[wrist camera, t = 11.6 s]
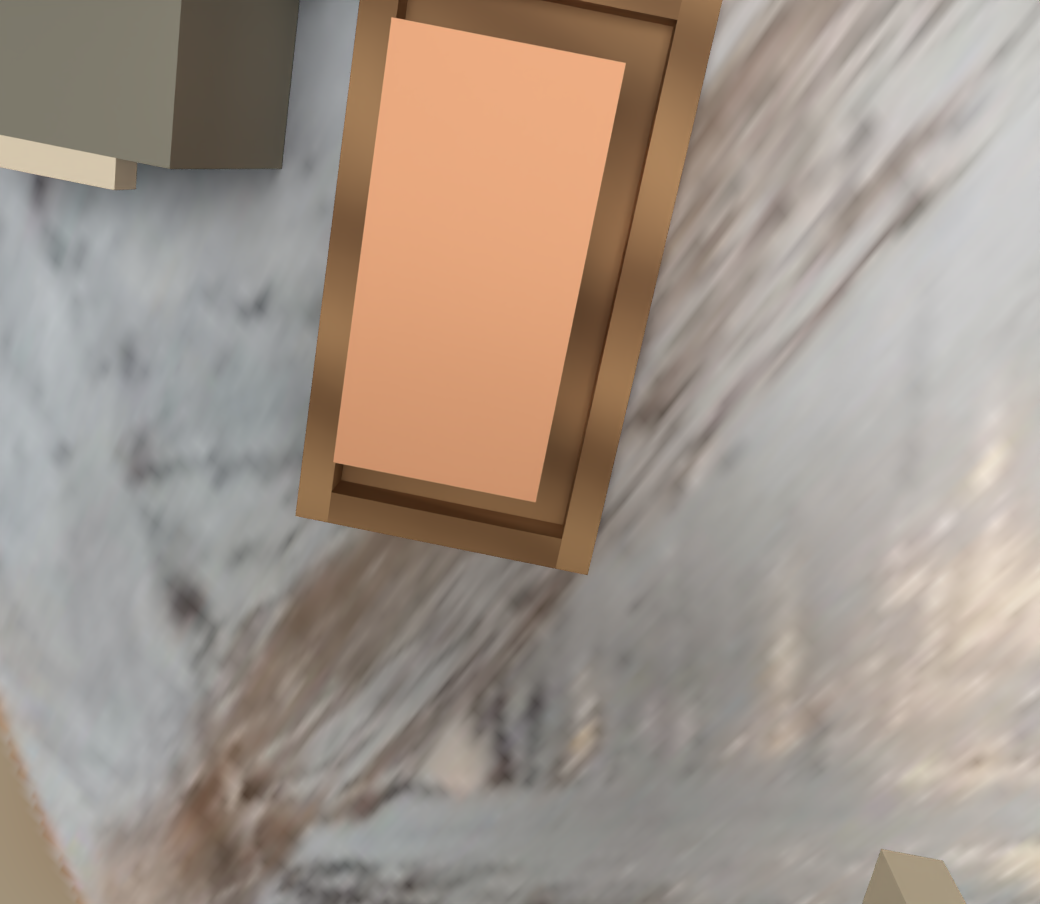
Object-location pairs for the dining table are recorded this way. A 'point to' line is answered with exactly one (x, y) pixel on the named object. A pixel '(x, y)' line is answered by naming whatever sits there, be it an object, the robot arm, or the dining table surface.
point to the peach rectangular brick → (472, 255)
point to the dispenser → (143, 86)
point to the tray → (603, 290)
